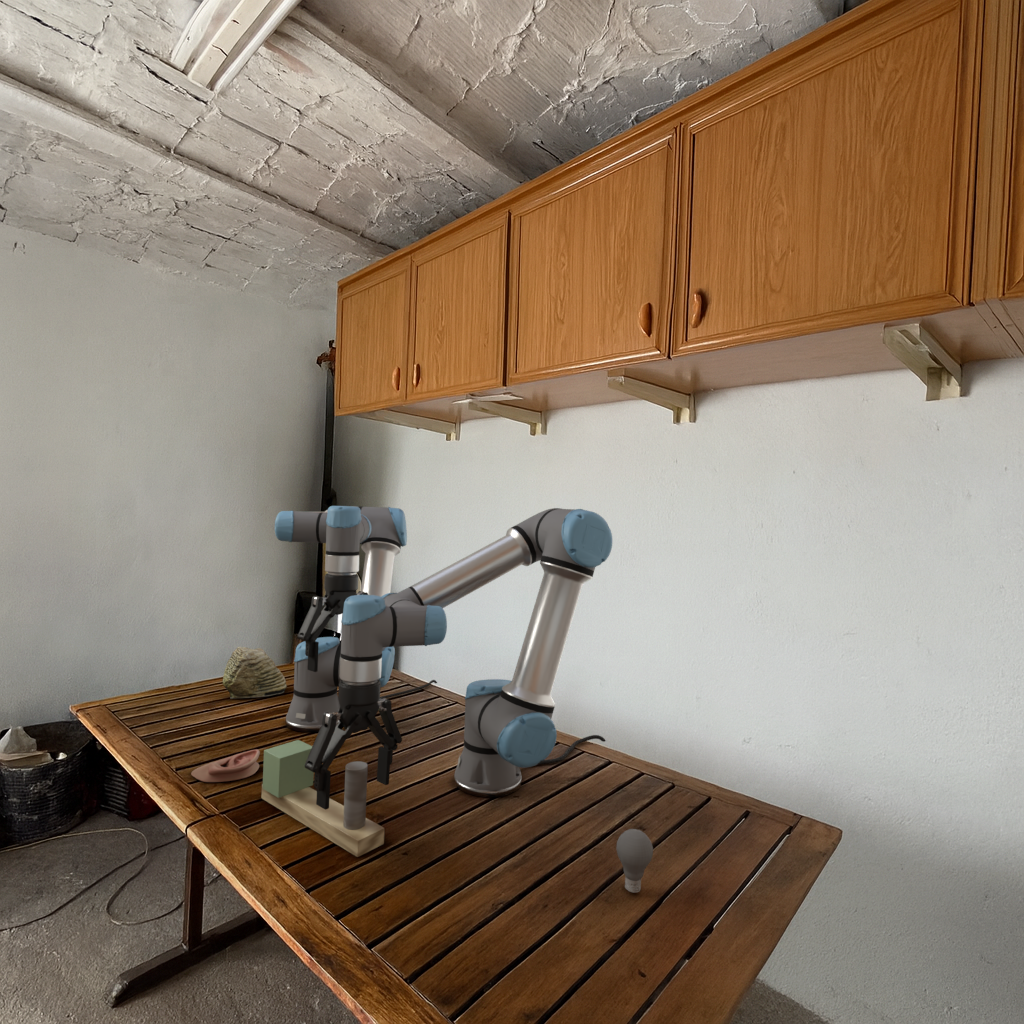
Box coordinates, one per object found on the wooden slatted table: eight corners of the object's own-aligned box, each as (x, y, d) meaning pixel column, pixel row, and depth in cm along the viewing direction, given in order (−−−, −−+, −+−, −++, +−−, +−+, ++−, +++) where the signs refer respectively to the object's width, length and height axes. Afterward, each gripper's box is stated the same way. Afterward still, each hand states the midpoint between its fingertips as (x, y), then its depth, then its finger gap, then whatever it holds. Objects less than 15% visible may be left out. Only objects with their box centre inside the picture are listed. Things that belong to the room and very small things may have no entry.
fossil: (218, 695, 195) (220, 647, 195) (278, 685, 208) (279, 640, 207) (228, 703, 189) (230, 653, 188) (289, 692, 201) (290, 645, 201)
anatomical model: (182, 760, 139) (216, 741, 150) (181, 778, 139) (216, 758, 150) (236, 768, 136) (267, 748, 147) (235, 786, 136) (266, 765, 147)
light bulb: (610, 879, 108) (613, 822, 108) (644, 879, 109) (647, 822, 109) (619, 902, 102) (622, 840, 102) (655, 901, 103) (658, 840, 103)
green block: (297, 776, 136) (298, 739, 136) (313, 785, 132) (314, 747, 132) (262, 788, 130) (263, 750, 130) (278, 798, 126) (279, 758, 126)
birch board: (287, 788, 137) (289, 724, 136) (383, 844, 117) (386, 768, 116) (261, 798, 132) (263, 731, 132) (357, 857, 112) (360, 779, 112)
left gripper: (374, 568, 157) (371, 653, 158) (283, 574, 138) (279, 671, 138) (394, 571, 153) (390, 659, 153) (303, 578, 133) (299, 679, 134)
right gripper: (398, 664, 129) (392, 768, 129) (287, 688, 110) (281, 810, 110) (423, 672, 124) (417, 779, 125) (313, 698, 105) (306, 825, 105)
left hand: (338, 665), depth 146 cm, fingers open, 13 cm apart
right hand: (354, 794), depth 117 cm, fingers open, 13 cm apart
